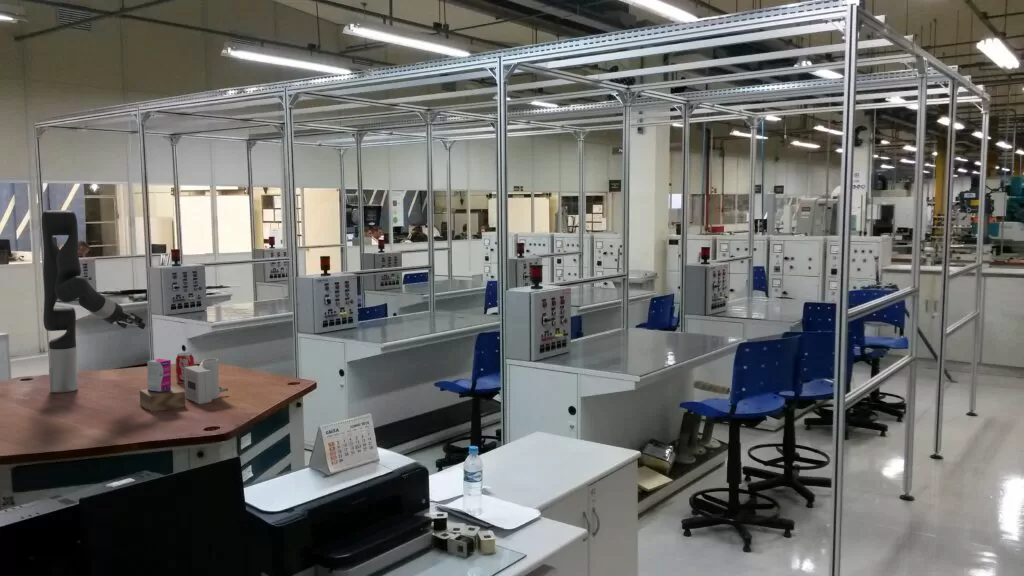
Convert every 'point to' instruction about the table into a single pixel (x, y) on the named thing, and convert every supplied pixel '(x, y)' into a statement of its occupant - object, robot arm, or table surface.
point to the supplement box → (159, 375)
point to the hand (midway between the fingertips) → (134, 326)
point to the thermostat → (202, 382)
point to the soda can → (183, 365)
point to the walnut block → (162, 399)
